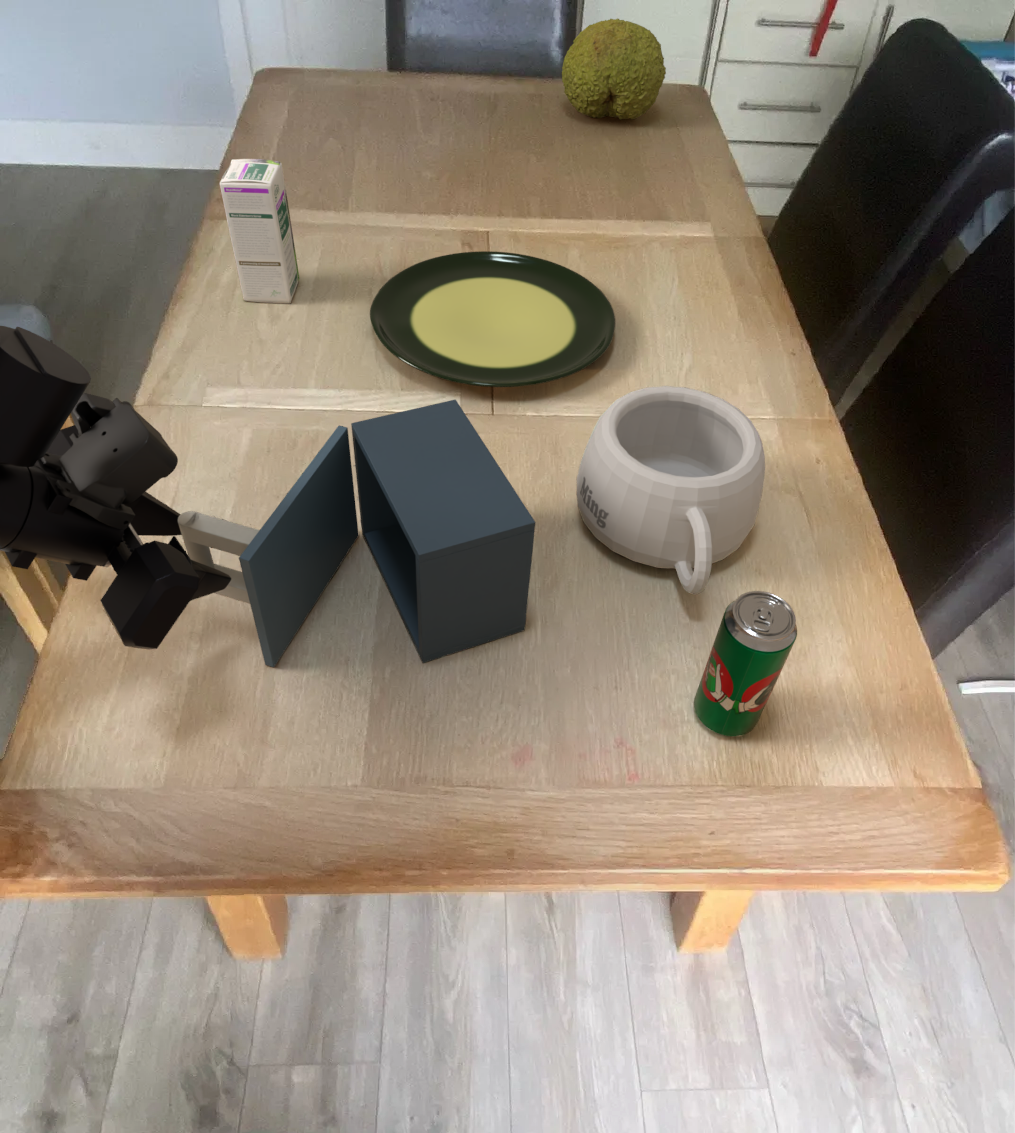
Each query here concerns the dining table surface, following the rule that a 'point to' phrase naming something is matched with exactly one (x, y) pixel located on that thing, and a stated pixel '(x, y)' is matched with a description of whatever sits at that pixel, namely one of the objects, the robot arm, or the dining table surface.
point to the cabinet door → (285, 546)
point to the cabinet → (443, 528)
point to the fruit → (613, 70)
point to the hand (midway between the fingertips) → (208, 554)
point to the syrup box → (260, 229)
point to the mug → (672, 480)
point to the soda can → (745, 662)
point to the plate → (493, 319)
